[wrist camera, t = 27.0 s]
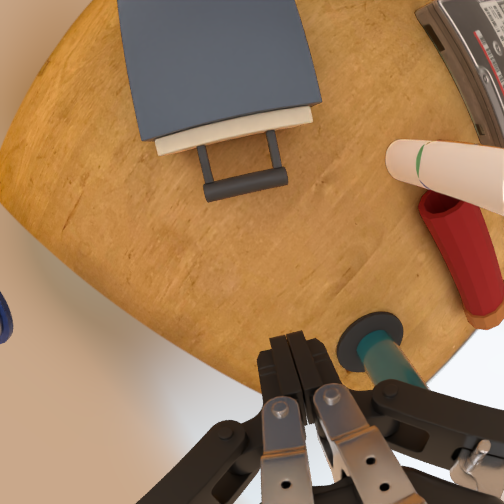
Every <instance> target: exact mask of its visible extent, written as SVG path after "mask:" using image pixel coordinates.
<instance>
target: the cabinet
mask: <svg viewBox="0 0 504 504" xmlns="http://www.w3.org/2000/svg"><path fill="white" fill-rule="evenodd" d="M117 4H118V12H119V21H120V28H121V35H122V42H123V49H124V55H125V61H126V67H127V73H128V78H129V84H130V89H131V94H132V99H133V104H134V109H135V113H136V118H137V123H138V127H139V132H140V136H141V140H142V141H155V139H157V138H160V137H163V136H167V135H170V134H173V133H177V132H180V131H184V130H188V129H191V128H195V127H199V126H203V125H207V124H211V123H215V122H220V121H224V120H228V119H233V118H238V117H242V116H247V115H252V114H258V113H263V112H269V111H275V110H281V109H287V108H294V107H301V106H310V107H312V106H314V105H316V104H318V103H321V102H322V99H321V94H320V90H319V86H318V81H317V77H316V73H315V69H314V65H313V61H312V58H311V54H310V50H309V47H308V43H307V40H306V36H305V33H304V29H303V26H302V23H301V19H300V16H299V13H298V10H297V7H296V4H295V1H294V0H117Z"/></svg>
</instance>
